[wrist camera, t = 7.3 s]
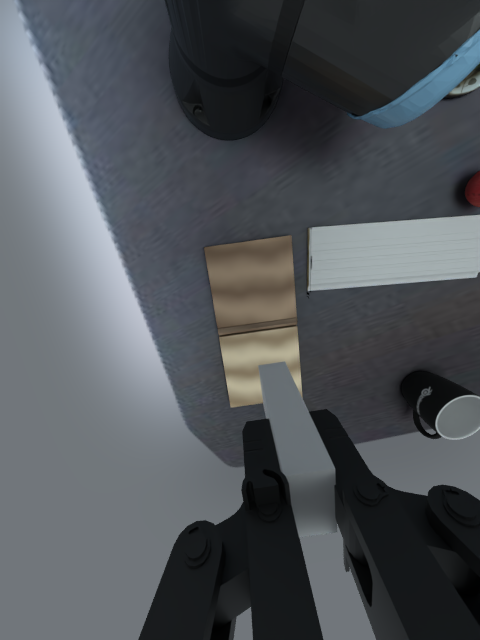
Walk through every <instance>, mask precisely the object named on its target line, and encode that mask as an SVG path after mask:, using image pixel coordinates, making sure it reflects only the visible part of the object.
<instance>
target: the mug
mask: <svg viewBox="0 0 480 640" xmlns="http://www.w3.org/2000/svg"><path fill="white" fill-rule="evenodd" d="M401 389H402V394H403V396H404V398H405V399H406V401H407V402H408V403H409V405H410V406H411V407H412V408H413V419H414V423H415V425H416V427H417V429H418V430H419V431H420V432H421V433H422V434H423V435H424V436H426V437H428V438H431V439H438V438H441V437H444V438H446V439H453V440H456V439H462V438H466V437H468V436H470V435H472V434H474V433H475V432H477V431H478V430H479V429H480V396H478V395H476V394H475V393H473V392H471V391H469V390H467V389H465V388H464V387H462V386H460V385H458V384H456V383H454V382H452V381H449V380H447V379H445V378H443V377H440V376H438V375H435V374H432V373H429V372H415V373H412V374H410V375H409V376H407V377H406V378H405V380H404V381H403V383H402V387H401ZM419 416H420V417H421V418H422V419H423V420H424V421H425V422H426V423H427V424H428V425H429V426H430V427H431V428H432V429H433V430H435V431H436V434H434V435H431V434H429V433H427V432H426V431H425V430H424V429H423V427H422V425H421V423H420V419H419Z"/></svg>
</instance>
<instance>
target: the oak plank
mask: <svg viewBox="0 0 480 640" xmlns="http://www.w3.org/2000/svg"><path fill="white" fill-rule="evenodd" d="M219 339H220V345H221V351H222V357H223V363H224V369H225V375H226V381H227V388H228V394H229V400H230V406H231V407H238V406H245V405H252V404H259V403H263V397H262V389H261V382H260V375H259V368H258V365H264V364H271V363H277V362H284V361H285V362H286V365H287V367H288V369H289V371H290V373H291V375H292V377H293V380H294V382H295V384H296V386H297V388H298V390H299V392H300V394H301V397H302V386H301V372H300V358H299V344H298V330H297V326H296V325H289V326H282V327H275V328H267V329H260V330H253V331H246V332H239V333H232V334H224V335H219Z"/></svg>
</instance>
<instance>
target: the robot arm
mask: <svg viewBox="0 0 480 640" xmlns="http://www.w3.org/2000/svg"><path fill="white" fill-rule="evenodd" d="M165 4H166V8H167V12H168V15H169V19H170V23H171V35H170V45H169V67H170V74H171V79H172V83H173V86H174V89H175V92H176V95H177V98H178V101H179V103H180V105H181V107H182V109H183V111H184V113H185V114H186V116H187V117H188V118H189V120H190V121H191V122H192V123H193V124H194V125H195V126H196V127H197V128H198V129H200V130H201V131H202V132H204V133H206V134H207V135H209V136H211V137H214V138H217V139H222V140H236V139H241V138H244V137H246V136H249V135H250V134H252V133H254V132H255V131H257V130H258V129H259V128H260V127H261V126H262V125H263V124H264V123H265V122H266V121H267V119H268V118H269V116H270V115H271V113H272V111H273V109H274V107H275V105H276V103H277V100H278V97H279V93H280V90H281V87H282V82H283V78H284V79H286V80H288V81H290V82H292V83H294V84H296V85H297V86H299V87H301V88H303V89H305V90H307V91H309V92H310V93H312V94H314V95H316V96H318V97H320V98H322V99H323V100H325V101H327V102H329V103H331V104H333V105H335V106H336V107H338V108H340V109H342V110H344V111H346V112H347V115H348V116H349V117H351V118H353V119H362V120H364V121H366V122H368V123H370V124H373V125H375V126H377V127H380V128H390V127H398V126H401V125H404V124H406V123H408V122H410V121H412V120H414V119H415V118H417V117H419V116H420V115H422V114H423V113H425V112H426V111H427V110H429V109H430V108H432V107H433V106H434V105H435V104H437V103H438V102H439V101H440V100H441V99H443V98H444V97H445V96H446V95H447V94H448V93H450V92H451V91H452V90H453V89H454V88H455V87H456V86H457V85H458V84H459V83H460V82H461V81H462V80H463V79H465V78H466V77H467V76H468V75H469V74H470V73H471V72H472V71H473V70H474V68H475V67H476V66H477V65H478V64H479V63H480V0H165ZM258 368H259V375H260V382H261V389H262V397H263V404H264V410H265V414H266V419H262V420H255V421H248V422H246V424H245V427H244V429H243V431H242V433H243V449H244V465H245V479H244V480H243V484H242V495H243V501H244V502H243V504H242V505H241V507H240V509H239V510H238V511H237V512H236V513H235V514H234V515H232V516H231V517H230V518H228V519H226V520H224V521H223V522H221V523H219V524H217V525H214V524H213V523H211V522H208V521H196V522H194V523H192V524H191V525H189V526H187V527H186V528H185V529H184V530H183V531H182V532H181V534H180V535H179V537H178V539H177V540H176V542H175V544H174V546H173V549H172V552H171V554H170V557H169V560H168V562H167V565H166V567H165V570H164V573H163V576H162V578H161V581H160V584H159V586H158V589H157V591H156V594H155V597H154V599H153V602H152V605H151V608H150V610H149V613H148V615H147V618H146V621H145V624H144V626H143V629H142V631H141V634H140V637H139V640H233V638H234V631H235V624H236V617H237V616H238V615H240V614H241V613H242V612H244V611H245V610H247V609H248V608H250V607H251V611H252V628H253V640H323V636H322V632H321V628H320V624H319V619H318V616H317V611H316V607H315V602H314V598H313V594H312V590H311V586H310V581H309V577H308V573H307V569H306V564H305V560H304V556H303V552H302V548H301V543H300V539H299V538H300V537H306V536H313V535H320V534H327V533H334V532H337V524H338V526H339V528H340V531H341V534H342V537H343V545H344V565H345V570H346V572H347V571H349V566H350V569H351V572H352V575H353V577H354V580H355V583H356V585H357V588H358V591H359V594H360V596H361V599H362V602H363V604H364V607H365V610H366V613H367V615H368V618H369V621H370V624H371V626H372V629H373V632H374V634H375V637H376V640H480V500H478V499H477V498H475V497H474V496H472V495H471V494H469V493H468V492H466V491H463V490H461V489H459V488H456V487H453V486H447V485H438V486H433V487H432V488H431V489H430V490H429V492H428V496H425V495H419V494H413V493H408V492H403V491H399V490H395V489H393V488H391V487H389V486H387V485H386V484H385V483H384V482H383V481H382V480H380V479H379V478H377V477H376V476H374V475H373V474H372V473H371V471H370V470H369V469H368V467H367V465H366V464H365V462H364V460H363V459H362V457H361V456H360V454H359V452H358V451H357V449H356V448H355V446H354V444H353V443H352V441H351V439H350V438H349V437H348V435H347V433H346V431H345V430H344V429H343V426H342V425H341V423H340V422H339V420H338V418H337V417H336V416H335V415H334V414H332V413H331V412H330V411H328V410H327V409H324V410H318V411H311V412H308V409H307V407H306V405H305V403H304V401H303V399H302V397H301V394H300V392H299V390H298V388H297V386H296V384H295V382H294V380H293V377H292V375H291V373H290V371H289V369H288V367H287V365H286V362H285V361H284V362H277V363H271V364H264V365H258Z"/></svg>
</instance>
